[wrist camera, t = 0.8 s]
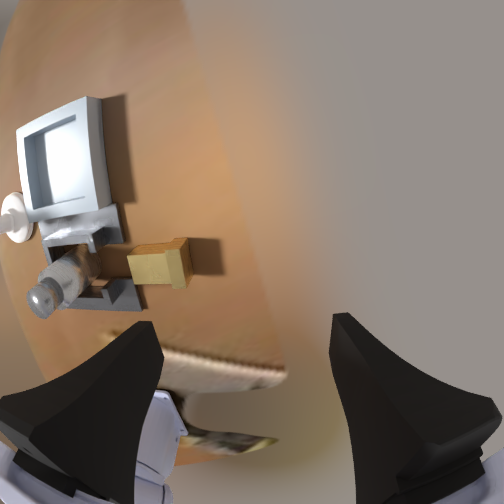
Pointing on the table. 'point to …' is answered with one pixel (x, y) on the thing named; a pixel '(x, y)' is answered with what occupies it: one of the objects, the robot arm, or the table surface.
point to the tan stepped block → (162, 263)
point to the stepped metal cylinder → (64, 281)
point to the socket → (96, 236)
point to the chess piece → (15, 218)
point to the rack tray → (64, 161)
